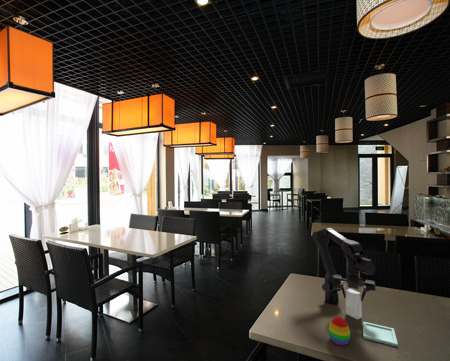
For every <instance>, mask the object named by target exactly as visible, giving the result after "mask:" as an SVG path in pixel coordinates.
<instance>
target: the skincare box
mask: <svg viewBox="0 0 450 361" xmlns="http://www.w3.org/2000/svg"><path fill="white" fill-rule="evenodd" d="M361 296H362V292H359V291H357V290H356V289H353V288H348V289H345V314H346V315H348V316H350V317H352V318H353V319H355V320H360V319H362V318H363V314H362V313H363V311H362V302H361Z"/></svg>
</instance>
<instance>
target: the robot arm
mask: <svg viewBox="0 0 450 361" xmlns="http://www.w3.org/2000/svg"><path fill="white" fill-rule="evenodd" d="M311 238H312V240H313V243H314V244H315V245H316V247H317V248H318V251H319V254H320V256H321V261H322V265H323V268H324V271H325V275H324V283H323V284H322V285H321V288H322V291H324V303H326V304H332V305H335V306H337V305H338V304H339V303H340V293H339V292H341V291H342V295H343V298H344V299H346V297H345V290H346V289H345V288H346V287H345V284H347V285H346V286H347V288H348V289H354V290H358V289H360V288H361V287H362V289H361V303H362V302H363V301H364V298H365V296H366V294H367V293H368V292H371V291H374V292H375V291H376V283H375V281H374V280H369V279H365V281H364V279H363V278H361V277H360V276H361V273H362V274H365V275H368V276H372V275H374V274H375V271H376V267H375V264H374V263H373V262H372V259H368V256H367V255H366V253H365V251H364V249H363V247H362V245H361V244H360V242H358V241H355V240H351V239H348V238H346V237H344V235H342V234H340V233H339V232H338V231H336V230H334V229H333V228H331V227H328V228H327V227H326V228H323V229H321V230H317V231H314V232H313V233H312V234H311ZM329 239H330V240H332V241H334V242H335V243H336V244H338V245H339V246H340V247H341V249H342V251H343V252H344V253H345V254H343V257H344V258H345V259H346V278H344V277H343V278H342V275H341V274H340V273H339V274H338V273H337V271H336V269H335V266H334V264H333V260H332V258H331V254H330V250H329V247H328V244H329ZM360 272H361V273H360ZM359 287H360V288H359Z"/></svg>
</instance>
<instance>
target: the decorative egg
mask: <svg viewBox="0 0 450 361" xmlns="http://www.w3.org/2000/svg"><path fill="white" fill-rule="evenodd" d="M350 330H351V329H350V326H349V325H348V323H347V321H346V320H345V319H344V318H343V317H341V316H334V317H333V318H332V319H331V320H330V322H329V325H328V335H329V337H330V339H331V341H332V342H333V343H334V344H336V345H338V346H346V345H347V344H348V343H349V342H350V339H351V331H350Z"/></svg>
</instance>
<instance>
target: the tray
mask: <svg viewBox="0 0 450 361" xmlns="http://www.w3.org/2000/svg"><path fill="white" fill-rule="evenodd" d="M362 331H363V332H362V333H363V334H362V335H363V339H365V340H370V341H373V342H377V343H381V344H385V345H387V346H393V347H396V348H399V344H398V340H397V336H396V332H395V328H393V327H389V326H384V325H379V324H376V323H372V322H368V321H362Z"/></svg>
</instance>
